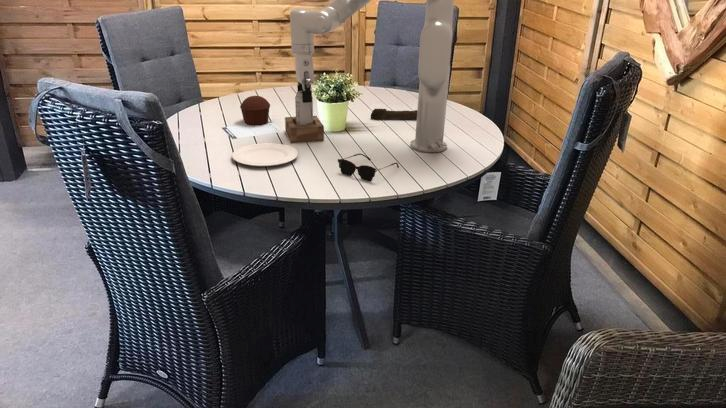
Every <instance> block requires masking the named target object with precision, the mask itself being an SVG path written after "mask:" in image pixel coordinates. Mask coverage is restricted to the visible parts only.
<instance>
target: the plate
mask: <svg viewBox="0 0 726 408" xmlns="http://www.w3.org/2000/svg"><path fill="white" fill-rule="evenodd" d="M298 156H299V153H298V150H297V149H296V148H294V147H292V146H290V145H286V144H282V143H273V142H272V143H271V142H268V143H267V142H266V143H265V142H263V143H252V144H248V145H244V146H241V147H239V148H237V149H236V150H234V151H233V152H232V154H231V158H232V159H233V161H235V162H236V163H238V164H240V165H241V164H242V165H243V166H244V165H245V166H250V167H254V168H257V167H258V168H272V167H278V166H282V165H285V164H289V163H291V162H293V161H294V160H296V159H297V157H298Z"/></svg>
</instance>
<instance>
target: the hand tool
mask: <svg viewBox="0 0 726 408" xmlns="http://www.w3.org/2000/svg"><path fill="white" fill-rule="evenodd" d="M373 119H374V121H386V120H410V121H411V120H415V121H417V109H416V110H387V109H386V108H374V109H373V110H372V111H371V114H370V120H373Z"/></svg>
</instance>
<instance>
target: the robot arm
mask: <svg viewBox="0 0 726 408" xmlns="http://www.w3.org/2000/svg"><path fill="white" fill-rule="evenodd" d="M371 1H372V0H333V1H331V2H330V3H329V4H328V5H327V6H325V7H324V8H322V9H318V10H311V9H307V8H294V9H292V10H291V11H290V13H289V20H290V21H289V22H290V41H291V43H290V44H291V47H290V48H291V54H293V55H294V65H295V66H294V67H295V78H296V80H297V92H298V91H302V100H303V103H310V102H312V97H313V90H312V84H313V85H314V83H315V75H314V74H315V73H314V72H315V71H314V60H313V54H315V41H314V40H315V37H314V36H315V34H316V35H327V34H329V33H331V32H332V31H335V30H336V29H338V28H339V27H340V26H341V25H342V24H344V23H345V22H346V21H347V20H348V19H349V18H351V17H352V16H353V15H355V14H356V13H357V12H358V11H359V10H362V9H363V8H364V7H365V6H367V5H368V4H369V3H370V2H371ZM454 2H455V1H454V0H426V2H425V17H424V26H423V28H422V30H421V32H420V36H419V51H418V67H417V68H418V69H417V77H418V81H419V84H418V85H419V87H418V96H417V99H418V100H417V109H416V110H417V120H416V127H415V138H414V139H413V140H411V141H410V147H411V148H412V149H414V150H416V151H418V152H423V153H440V152H444V151H446V150H447V148H448V144H447V142H445V141H444V135H445V123H446V116H447V115H446V113H447V102H448V94H449V93H448V91H449V83H450V75H451V74H450V73H451V65H450V64H451V55H452V54H451V53H452V51H451V50H452V43H453V33H454V32H453V18H454Z"/></svg>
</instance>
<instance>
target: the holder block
mask: <svg viewBox="0 0 726 408" xmlns="http://www.w3.org/2000/svg"><path fill="white" fill-rule="evenodd" d="M284 124H285V126H284V128H285V129H284V130H285V134H286V135H287V138H288V140H289V142H290V143H291V144H304V143H306V144H307V143H321V142H322V143H323V142H325V126H324V124H323V123H322V121H321V120H320V118H319V117H318V116H317V115H313V124H310V125H296V116H284Z"/></svg>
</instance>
